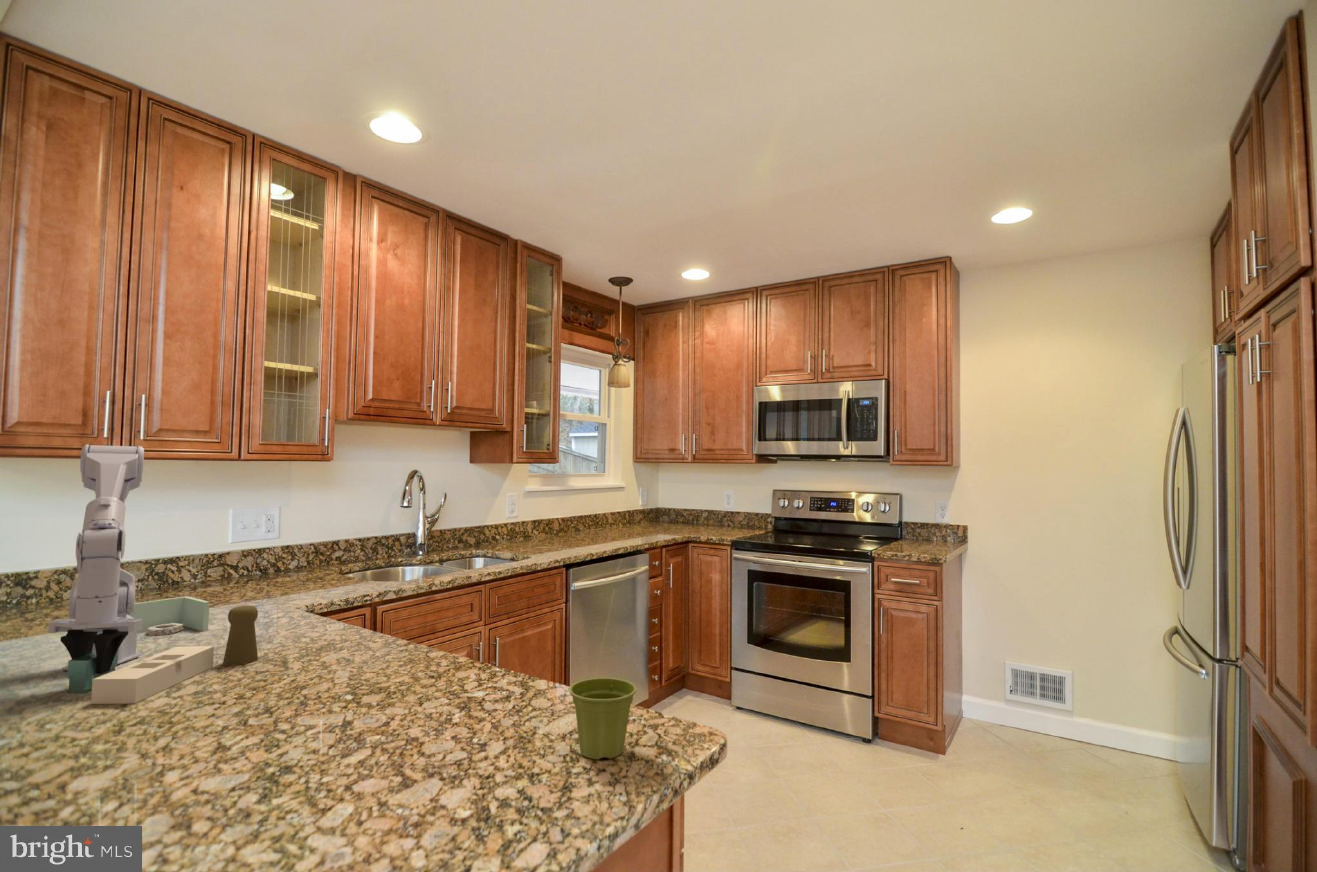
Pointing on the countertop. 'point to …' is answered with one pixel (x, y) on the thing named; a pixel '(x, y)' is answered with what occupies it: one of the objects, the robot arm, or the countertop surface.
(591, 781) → the countertop surface
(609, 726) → the plant pot
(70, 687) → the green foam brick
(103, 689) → the rail
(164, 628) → the right angle wall
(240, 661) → the cork
